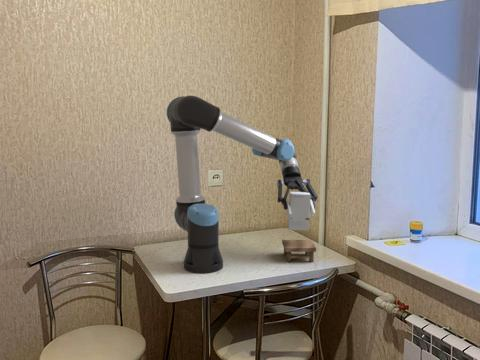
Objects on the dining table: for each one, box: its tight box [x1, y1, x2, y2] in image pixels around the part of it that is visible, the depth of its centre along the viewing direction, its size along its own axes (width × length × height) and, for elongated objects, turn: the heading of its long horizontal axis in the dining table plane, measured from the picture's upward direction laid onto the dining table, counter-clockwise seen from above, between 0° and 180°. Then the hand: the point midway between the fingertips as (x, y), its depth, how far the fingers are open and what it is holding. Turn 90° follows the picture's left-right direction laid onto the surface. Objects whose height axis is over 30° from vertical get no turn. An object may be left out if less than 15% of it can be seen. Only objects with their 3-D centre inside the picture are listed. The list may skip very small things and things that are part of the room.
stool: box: [281, 239, 317, 263], centre depth 177 cm, size 12×12×6 cm
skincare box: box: [287, 191, 311, 232], centre depth 175 cm, size 8×6×15 cm
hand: (301, 215), depth 172 cm, fingers closed on skincare box, 9 cm apart
